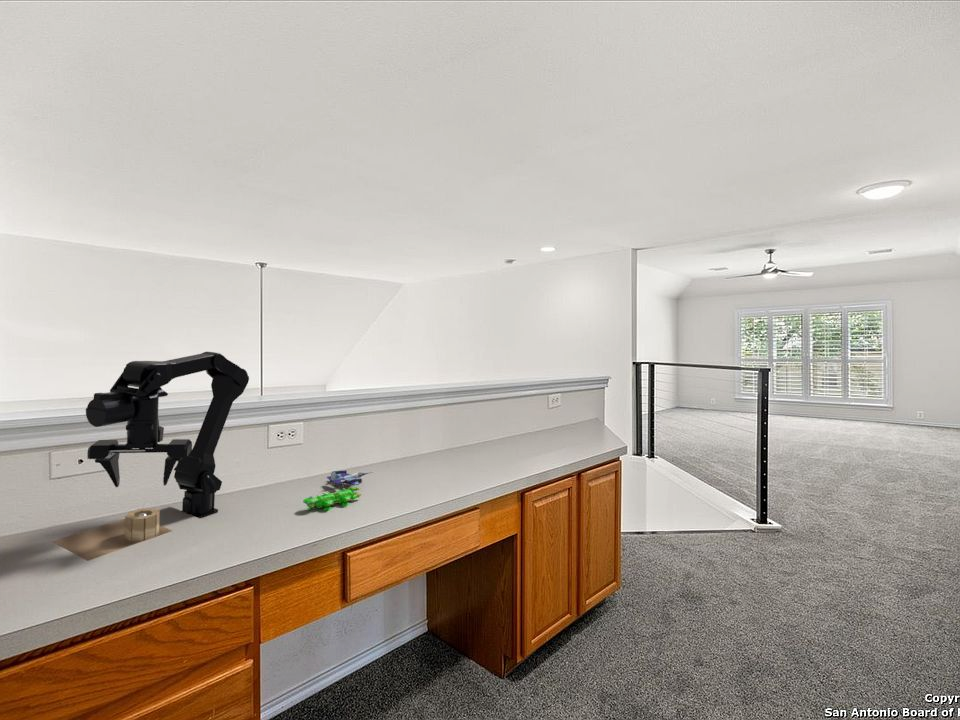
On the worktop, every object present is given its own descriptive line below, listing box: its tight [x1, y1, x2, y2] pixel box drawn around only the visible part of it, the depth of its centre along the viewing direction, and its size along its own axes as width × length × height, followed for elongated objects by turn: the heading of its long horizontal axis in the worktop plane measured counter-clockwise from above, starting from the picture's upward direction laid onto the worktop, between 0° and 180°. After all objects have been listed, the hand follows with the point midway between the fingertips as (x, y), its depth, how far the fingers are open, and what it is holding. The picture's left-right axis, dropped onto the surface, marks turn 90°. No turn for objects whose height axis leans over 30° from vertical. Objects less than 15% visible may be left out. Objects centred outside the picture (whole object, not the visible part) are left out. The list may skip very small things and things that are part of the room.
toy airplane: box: [326, 470, 373, 490], centre depth 157 cm, size 13×14×4 cm
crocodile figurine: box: [302, 486, 363, 511], centre depth 140 cm, size 7×18×4 cm, turn 137°
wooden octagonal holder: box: [124, 507, 161, 542], centre depth 111 cm, size 6×6×5 cm
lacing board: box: [52, 518, 173, 561], centre depth 110 cm, size 17×14×2 cm
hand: (141, 485), depth 112 cm, fingers open, 9 cm apart
